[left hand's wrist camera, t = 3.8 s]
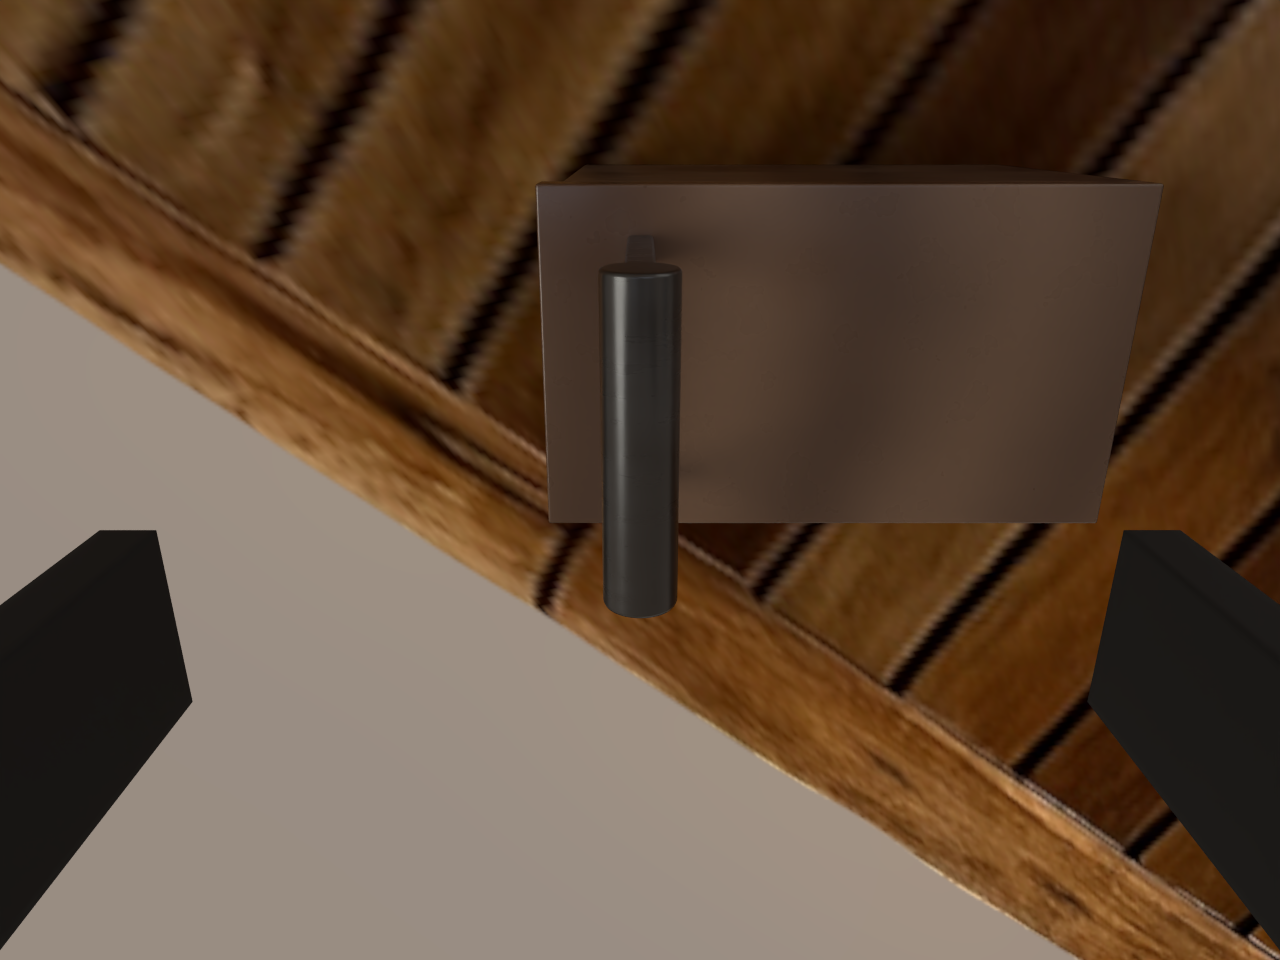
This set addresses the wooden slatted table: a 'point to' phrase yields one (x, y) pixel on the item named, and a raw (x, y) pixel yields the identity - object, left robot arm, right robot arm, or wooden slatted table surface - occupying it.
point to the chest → (825, 173)
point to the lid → (830, 355)
